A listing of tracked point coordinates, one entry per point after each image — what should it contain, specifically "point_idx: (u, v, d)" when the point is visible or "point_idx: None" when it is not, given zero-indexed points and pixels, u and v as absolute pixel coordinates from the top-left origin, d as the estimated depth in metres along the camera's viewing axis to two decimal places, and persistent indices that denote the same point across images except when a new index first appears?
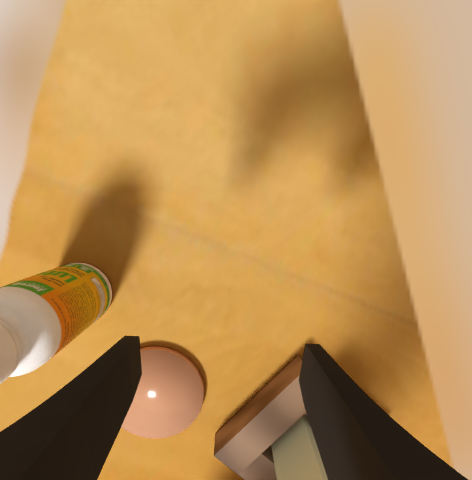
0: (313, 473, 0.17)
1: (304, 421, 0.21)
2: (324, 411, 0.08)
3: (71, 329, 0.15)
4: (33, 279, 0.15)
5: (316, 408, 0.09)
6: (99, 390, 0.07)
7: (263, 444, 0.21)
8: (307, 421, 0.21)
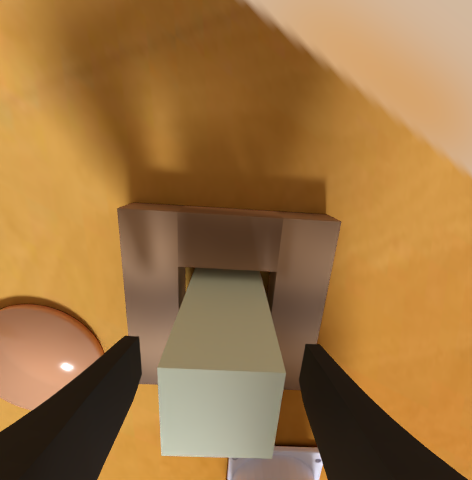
0: None
1: (194, 276, 0.13)
2: (324, 411, 0.08)
3: None
4: None
5: (316, 408, 0.09)
6: (99, 390, 0.07)
7: None
8: (205, 274, 0.14)
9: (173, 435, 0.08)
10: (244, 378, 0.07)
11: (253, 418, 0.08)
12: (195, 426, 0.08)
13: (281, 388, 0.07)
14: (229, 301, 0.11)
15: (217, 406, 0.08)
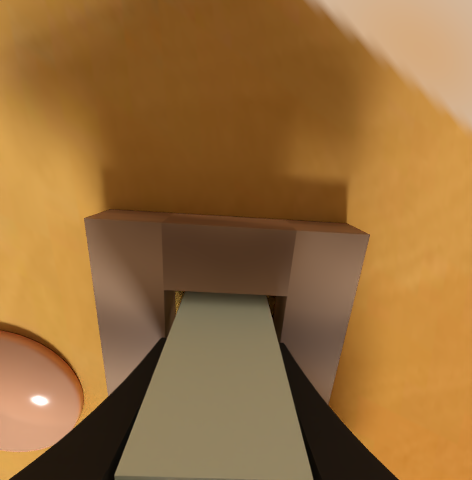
0: None
1: (185, 301, 0.11)
2: None
3: None
4: None
5: None
6: None
7: None
8: (198, 297, 0.11)
9: None
10: None
11: None
12: None
13: None
14: (227, 339, 0.08)
15: None
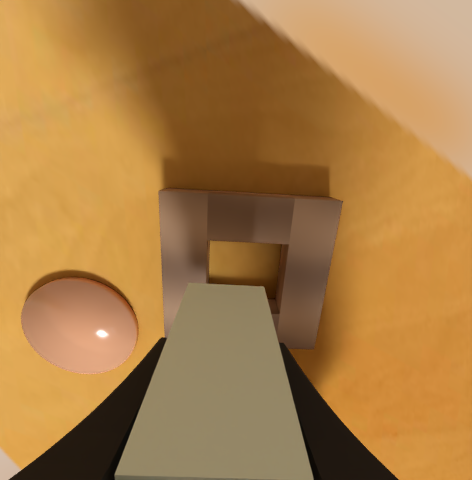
0: None
1: (185, 300, 0.11)
2: None
3: None
4: None
5: None
6: None
7: None
8: (198, 297, 0.11)
9: None
10: None
11: None
12: None
13: None
14: (227, 339, 0.08)
15: None
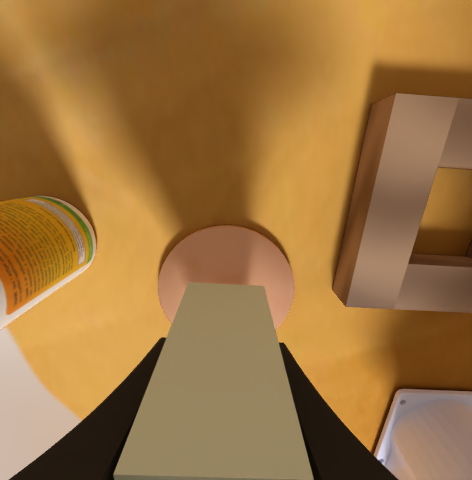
0: None
1: (184, 300, 0.11)
2: None
3: (7, 247, 0.09)
4: None
5: None
6: None
7: (402, 250, 0.13)
8: (198, 296, 0.11)
9: None
10: None
11: None
12: None
13: None
14: (227, 338, 0.08)
15: None
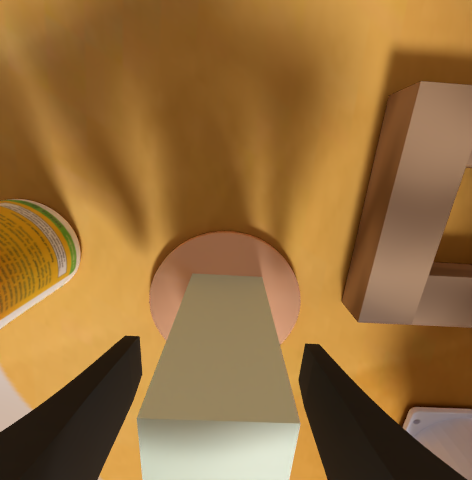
0: None
1: (189, 288, 0.12)
2: (324, 411, 0.08)
3: None
4: None
5: (316, 408, 0.09)
6: (99, 390, 0.07)
7: (423, 260, 0.12)
8: (201, 285, 0.12)
9: None
10: (248, 430, 0.06)
11: (259, 475, 0.06)
12: None
13: (294, 441, 0.06)
14: (228, 320, 0.09)
15: (214, 462, 0.06)
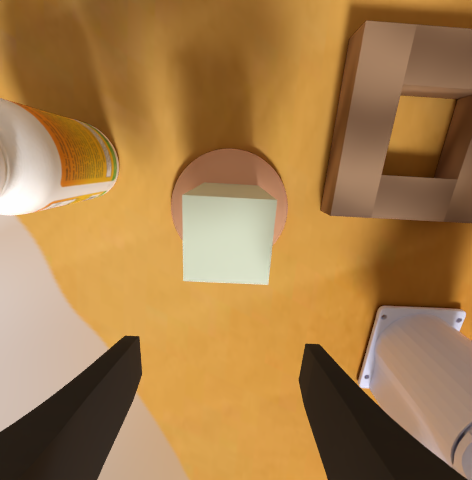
0: None
1: (203, 184, 0.16)
2: (324, 411, 0.08)
3: (60, 133, 0.12)
4: None
5: (316, 408, 0.09)
6: (99, 390, 0.07)
7: (376, 162, 0.16)
8: (212, 184, 0.16)
9: (193, 260, 0.11)
10: (246, 205, 0.10)
11: (253, 243, 0.10)
12: (209, 252, 0.10)
13: (274, 214, 0.10)
14: (233, 189, 0.14)
15: (226, 232, 0.10)
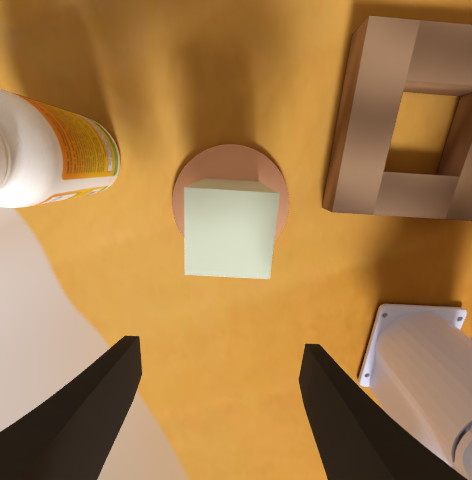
0: None
1: (205, 179, 0.16)
2: (324, 411, 0.08)
3: (62, 125, 0.12)
4: None
5: (316, 408, 0.09)
6: (99, 390, 0.07)
7: (378, 158, 0.16)
8: (214, 179, 0.16)
9: (194, 253, 0.11)
10: (249, 198, 0.10)
11: (255, 237, 0.10)
12: (211, 245, 0.10)
13: (276, 208, 0.10)
14: (234, 183, 0.13)
15: (228, 226, 0.10)
